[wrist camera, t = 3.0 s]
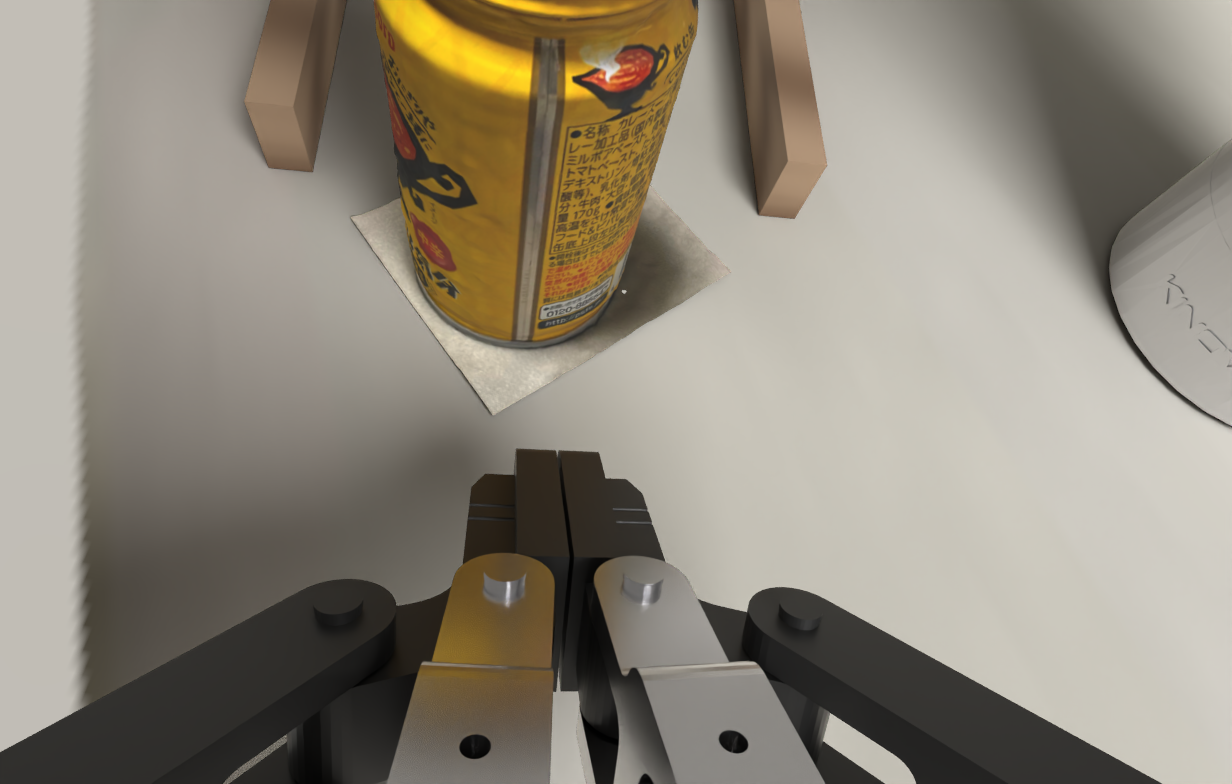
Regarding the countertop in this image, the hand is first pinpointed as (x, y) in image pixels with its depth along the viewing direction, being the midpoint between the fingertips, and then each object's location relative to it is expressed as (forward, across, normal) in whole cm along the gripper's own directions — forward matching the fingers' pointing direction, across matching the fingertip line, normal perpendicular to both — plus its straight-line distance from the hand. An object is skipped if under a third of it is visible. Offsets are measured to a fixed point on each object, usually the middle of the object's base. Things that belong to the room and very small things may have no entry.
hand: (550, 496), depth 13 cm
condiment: (+10, 0, -3) cm, 11 cm away
